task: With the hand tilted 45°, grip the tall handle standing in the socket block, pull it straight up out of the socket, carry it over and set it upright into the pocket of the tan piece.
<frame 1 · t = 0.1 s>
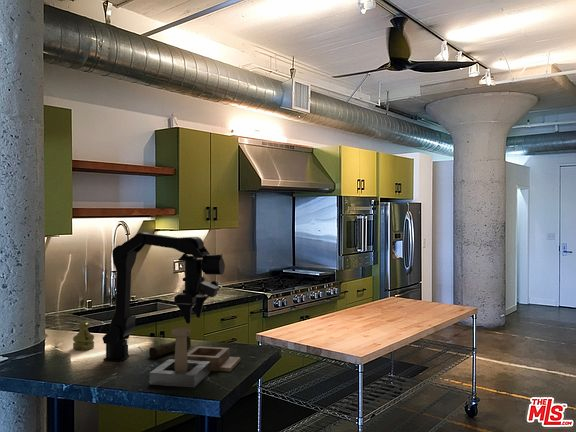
hand: (193, 320, 168), 15 cm above the countertop, tool pointing down, fingers open, 9 cm apart
tan piece: (206, 364, 167), on the countertop
olive green tiered piece: (83, 348, 187), on the countertop
socket block: (181, 378, 153), on the countertop
handle: (181, 378, 153), resting in socket block
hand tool: (171, 352, 182), on the countertop
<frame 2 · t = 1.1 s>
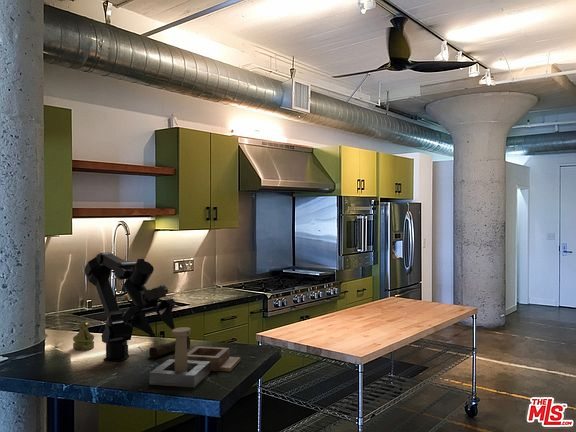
hand: (163, 331, 157), 13 cm above the countertop, tool tilted 45°, fingers open, 9 cm apart
nothing on the countertop moved.
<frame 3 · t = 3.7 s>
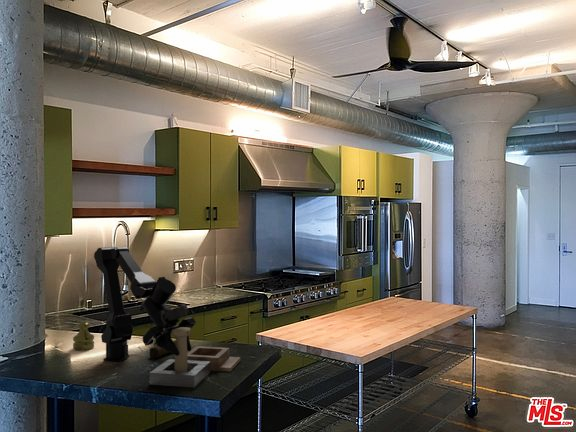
hand: (184, 352, 152), 8 cm above the countertop, tool tilted 45°, fingers closed on handle, 5 cm apart
handle: (181, 378, 153), resting in socket block, touching gripper
everything else where it was.
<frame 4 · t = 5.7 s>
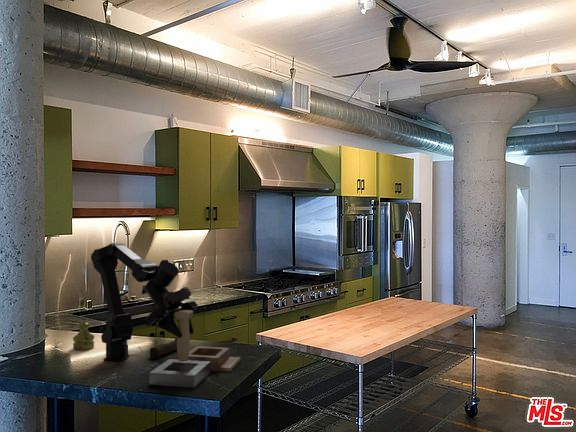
hand: (186, 335, 153), 13 cm above the countertop, tool tilted 45°, fingers closed on handle, 5 cm apart
handle: (183, 361, 154), point 5 cm above the countertop, touching gripper
everything else where it was.
when the fingers open (10 cm above the countertop, at t = 7.8 s): handle stays where it is, resting on tan piece.
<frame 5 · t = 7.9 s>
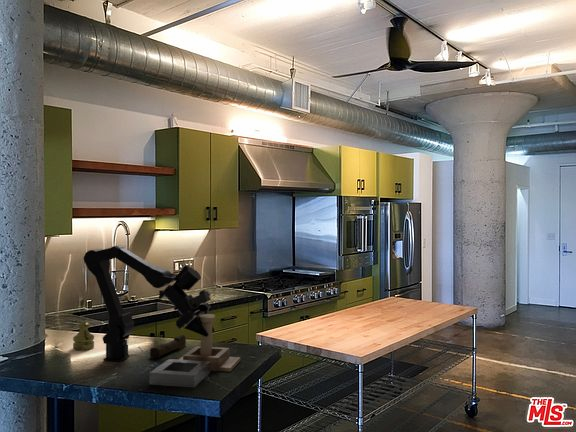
hand: (210, 333, 167), 10 cm above the countertop, tool tilted 45°, fingers open, 6 cm apart
handle: (205, 361, 167), point 1 cm above the countertop, touching tan piece
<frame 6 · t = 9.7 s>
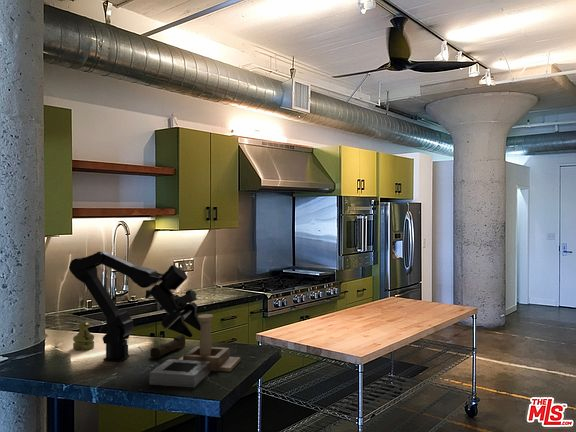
hand: (196, 333, 168), 10 cm above the countertop, tool tilted 45°, fingers open, 9 cm apart
nothing on the countertop moved.
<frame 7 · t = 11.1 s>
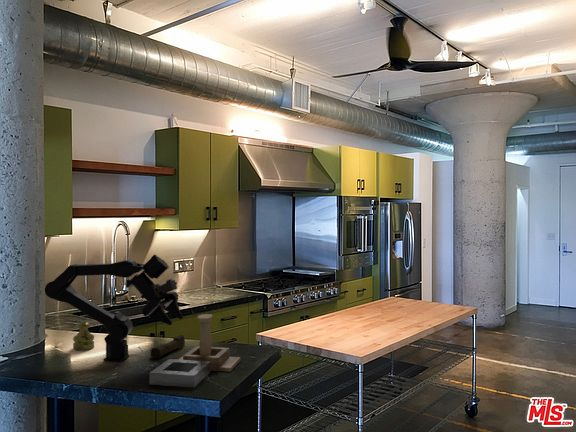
hand: (176, 321, 171), 14 cm above the countertop, tool tilted 45°, fingers open, 9 cm apart
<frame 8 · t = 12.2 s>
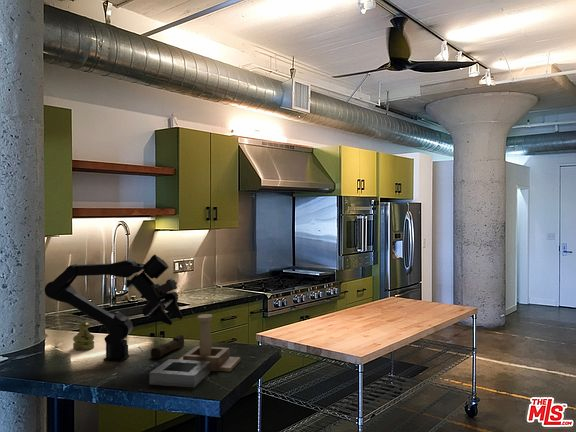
hand: (176, 321, 171), 14 cm above the countertop, tool tilted 45°, fingers open, 9 cm apart
nothing on the countertop moved.
at the end: handle 0.4 cm off-centre on the tan piece, point 1.0 cm above the tan piece's base; handle tilted 1°; the gripper is holding nothing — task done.
